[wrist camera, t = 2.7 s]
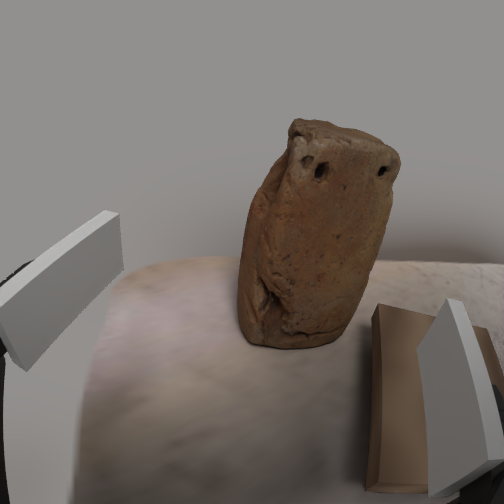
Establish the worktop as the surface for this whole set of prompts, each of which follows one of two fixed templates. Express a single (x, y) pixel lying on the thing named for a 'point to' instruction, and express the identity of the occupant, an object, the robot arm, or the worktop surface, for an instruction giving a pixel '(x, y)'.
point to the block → (314, 235)
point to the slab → (405, 400)
